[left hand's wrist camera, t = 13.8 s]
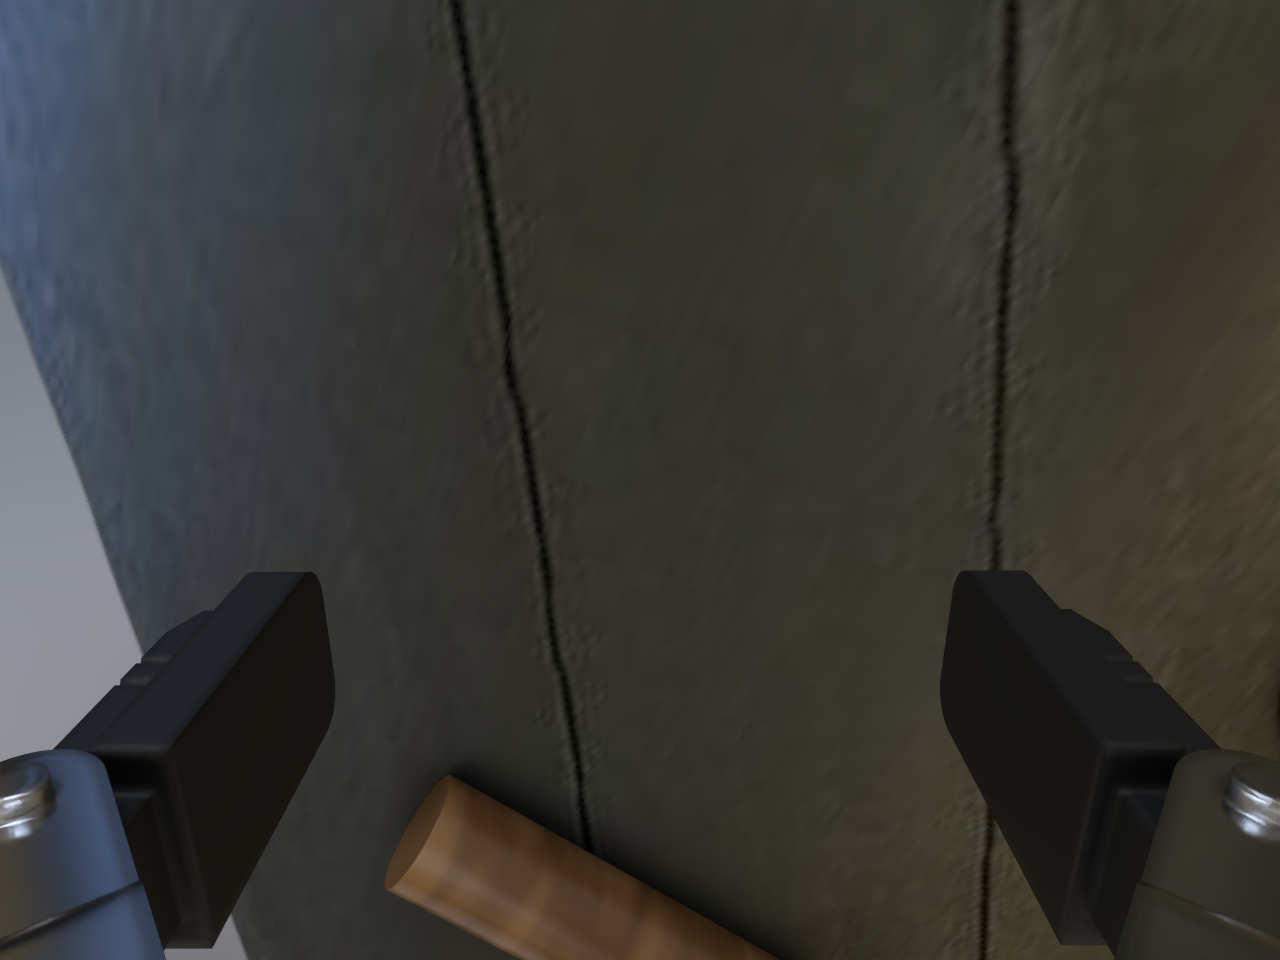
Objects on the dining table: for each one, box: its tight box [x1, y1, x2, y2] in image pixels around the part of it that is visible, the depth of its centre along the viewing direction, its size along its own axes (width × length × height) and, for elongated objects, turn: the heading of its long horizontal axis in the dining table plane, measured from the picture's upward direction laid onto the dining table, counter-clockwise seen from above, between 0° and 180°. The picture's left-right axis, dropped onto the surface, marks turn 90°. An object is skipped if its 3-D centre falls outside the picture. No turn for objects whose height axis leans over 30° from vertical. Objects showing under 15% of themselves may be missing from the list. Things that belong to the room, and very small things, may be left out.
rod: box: [385, 775, 780, 960], centre depth 48 cm, size 25×6×6 cm, turn 54°
